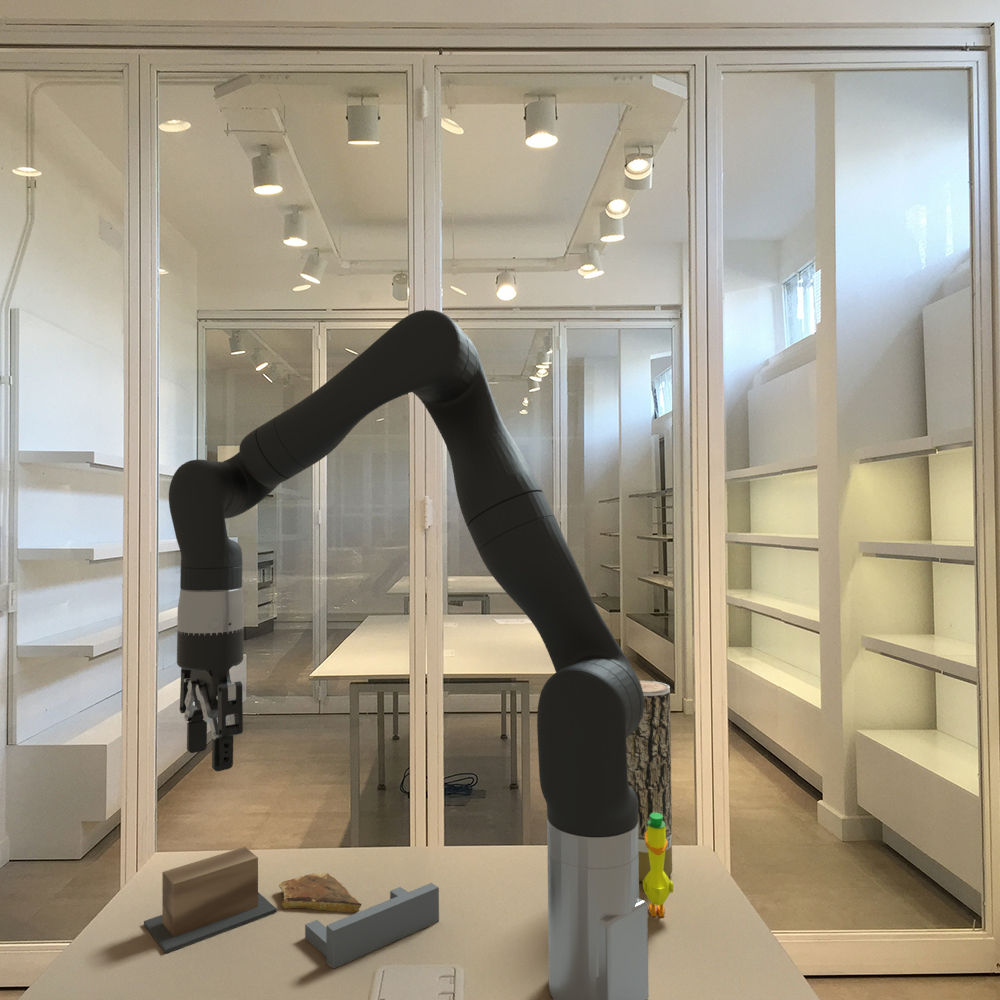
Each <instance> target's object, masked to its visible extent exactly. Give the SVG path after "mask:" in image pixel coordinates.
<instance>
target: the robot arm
mask: <svg viewBox="0 0 1000 1000" xmlns="http://www.w3.org/2000/svg"><path fill="white" fill-rule="evenodd" d="M482 363H483V362H482V360H481V357H480V354H479V353H478V350H477V348H476V346H475V345H474V342H473V341H472V340H471V339H470V337H469V336H468V335H467V334H466V333H465V332H464V330H462V328H461V327H460V326H459V325H458V324H457V323H456V322H455V320H453V319H452V318H451V316H448V315H446V314H445V313H443V312H441V311H437V310H432V309H431V310H430V309H423V310H418V311H415V312H413V313H410V314H409V315H407V316H405V317H403V318H402V319H401V320H399V321H398V322H396V323H395V324H394V325H393V326H392V327H390V328H389V329H388V330H387V331H386V332H385V333H383V334H382V335H381V336H379V338H377V339H376V341H374V342H373V343H372V344H371V345H369V346H368V348H366V349H365V350H364V351H363V352H361V354H359V355H358V356H357V357H356V358H354V359H353V360H352V361H351V362H350V363H348V364H347V365H346V366H345V367H343V368H342V369H341V370H340V371H339V372H337V373H336V374H335V375H334V376H333V377H332V378H330V379H329V380H327V382H325V383H324V384H323V385H321V386H320V387H319V388H317V389H316V390H315V391H313V392H312V393H310V394H309V395H308V396H306V397H305V398H304V399H302V400H300V401H299V402H297V403H296V404H294V405H293V406H291V407H290V408H288V409H286V410H285V411H283V412H281V413H280V414H278V415H276V416H275V417H273V418H271V419H269V420H268V421H266V422H265V423H263V424H261V425H260V426H258V427H256V428H255V429H254V430H252V431H251V432H249V433H248V434H247V435H246V436H244V437H243V439H242V440H241V442H240V443H239V448H238V449H239V450H238V453H236V454H235V455H233V456H231V457H230V458H227V459H225V460H223V461H217V460H210V459H208V460H207V459H193V460H188V461H186V462H184V463H183V464H181V465H180V466H179V467H178V468H177V469H176V470H175V472H174V474H173V476H172V478H171V481H170V485H169V490H168V506H169V507H168V508H169V511H170V516H171V520H172V521H171V522H172V525H173V529H174V530H173V531H174V534H175V537H176V542H177V545H178V548H179V552H180V579H179V581H180V583H179V584H180V586H179V587H180V590H179V597H178V603H177V615H176V616H177V623H176V626H177V629H176V630H177V631H176V632H177V634H176V645H177V646H176V664H177V666H178V667H179V668H180V691H179V695H180V696H179V711H180V713H181V714H184V715H183V716H184V721H185V722H187V723H186V750H187V751H188V752H189V753H190V754H194V753H199V752H204V751H206V749H207V747H208V746H207V743H208V737H207V736H208V724H209V727H210V730H211V731H210V733H211V736H212V739H211V742H212V744H211V751H212V752H211V768H212V770H214V771H215V772H221V771H226V770H227V771H228V770H230V769H231V768H233V765H234V737H235V736H237V735H242V733H243V732H244V731H243V730H244V729H243V728H244V725H243V724H244V723H243V722H244V720H243V719H244V717H243V709H244V707H243V683H242V681H232V680H231V673H230V670H231V668H232V667H235V666H238V665H240V664H241V663H242V662H243V661H244V640H245V639H244V637H245V635H244V633H245V632H244V631H245V630H244V629H245V625H244V624H245V605H244V604H245V603H244V596H243V550H242V547H241V545H240V544H239V543H238V542H237V541H235V540H232V539H230V537H229V536H228V531H227V525H226V524H227V523H226V519H231V518H234V517H237V516H240V515H242V514H244V513H246V512H248V511H249V510H251V509H253V508H254V507H256V505H258V504H259V503H260V502H262V501H263V500H264V499H265V498H267V496H269V495H270V494H271V493H272V492H273V491H274V490H275V489H276V488H277V487H278V486H279V485H280V484H282V483H284V482H286V481H288V480H290V479H291V478H293V477H295V476H296V475H298V474H299V473H301V472H303V471H305V470H306V469H309V468H310V467H311V466H313V465H315V464H317V463H319V461H321V460H323V459H324V458H325V457H326V456H328V455H329V454H330V453H331V452H333V450H335V449H336V448H337V447H338V446H339V445H340V443H342V442H343V440H345V438H346V437H347V436H348V435H349V433H351V431H352V430H353V429H354V428H355V427H356V426H357V425H358V424H359V423H360V422H361V421H362V420H364V419H365V418H366V417H367V416H368V415H369V414H371V413H372V412H374V411H375V410H377V409H378V408H380V407H382V406H383V405H385V404H387V403H389V402H391V401H393V400H396V399H398V398H400V397H403V396H406V395H407V394H411V393H413V394H414V395H415V396H416V397H417V398H418V399H419V400H420V401H421V403H422V404H423V405H424V407H425V408H426V410H427V412H428V413H429V415H430V417H431V418H432V420H433V422H434V424H435V425H436V428H437V429H438V432H439V433H440V436H441V437H442V439H443V442H444V445H445V446H446V449H447V452H448V454H449V459H450V462H451V467H452V472H453V479H454V480H453V481H454V486H455V491H456V496H457V501H458V505H459V508H460V511H461V512H460V513H461V515H462V517H463V520H464V523H465V525H466V527H467V530H468V531H469V534H470V537H471V538H472V541H473V543H474V546H475V547H476V549H477V551H478V553H479V556H480V558H481V560H482V562H483V564H484V566H485V567H486V569H487V570H488V572H489V573H490V574H491V576H492V577H493V578H494V580H495V582H497V584H498V585H499V586H500V587H501V588H502V589H503V590H504V592H505V593H506V594H507V595H508V596H509V597H510V598H511V599H512V600H513V602H514V603H515V604H516V605H517V606H518V607H519V608H520V609H521V611H522V612H523V613H524V614H525V615H526V617H528V619H529V620H530V621H531V622H532V623H531V624H533V626H534V627H535V629H536V631H537V632H538V635H540V638H541V640H542V642H543V644H544V646H545V649H546V651H547V653H548V656H549V657H550V660H551V663H552V665H553V668H554V670H555V673H553V674H552V675H551V676H550V677H549V678H548V679H547V680H546V682H545V683H544V685H543V687H542V689H541V691H540V694H539V699H538V703H537V704H538V705H537V714H536V715H537V716H536V720H537V721H536V723H537V724H536V729H537V730H536V731H537V752H538V754H537V756H538V769H539V770H538V771H539V772H538V773H539V774H538V775H539V785H540V789H541V792H542V793H541V794H542V795H543V798H544V801H545V803H546V816H547V818H546V819H547V822H546V824H547V828H546V829H547V833H546V834H547V927H548V928H547V931H548V933H547V934H548V937H547V938H548V949H547V950H548V990H549V993H550V996H551V997H552V1000H647V999H648V998H649V996H650V995H649V993H650V992H649V985H650V984H649V924H648V923H649V919H648V917H649V915H648V913H649V905H648V903H647V901H645V900H644V899H642V898H640V881H639V855H638V849H639V847H638V799H637V795H636V793H635V791H634V790H633V789H632V788H631V787H630V786H629V785H628V775H627V748H626V738H627V737H628V736H630V735H631V734H632V733H633V732H634V731H635V729H636V728H637V727H638V725H639V723H640V721H641V719H642V716H643V712H644V694H643V690H642V686H641V683H640V681H641V680H640V678H639V677H638V674H637V673H636V672H635V670H634V668H633V666H632V664H631V662H629V660H628V658H627V656H626V655H625V653H624V651H623V650H622V648H621V646H620V645H619V644H618V642H617V640H616V639H615V637H614V635H613V634H612V632H611V631H610V629H609V627H608V626H607V624H606V622H605V621H604V619H603V617H602V615H601V613H600V611H599V610H598V608H597V606H596V604H595V602H594V599H592V596H591V594H590V591H589V589H588V587H587V585H586V582H585V580H584V578H583V576H582V574H581V572H580V569H579V567H578V565H577V563H576V559H574V557H573V554H572V552H571V550H570V547H569V546H568V544H567V542H566V539H565V536H564V534H563V533H562V530H561V528H560V527H561V526H559V523H558V521H557V518H556V516H555V514H554V512H553V510H552V508H551V506H550V504H549V502H548V500H547V497H546V496H545V493H544V491H543V490H542V488H541V486H540V483H539V482H538V480H537V478H536V477H535V474H534V472H533V470H532V468H531V467H530V465H529V463H528V461H527V460H526V457H525V456H524V454H523V453H522V451H521V450H520V448H519V446H518V445H517V443H516V442H515V441H516V440H514V438H513V437H512V435H511V434H510V432H509V430H508V428H507V427H506V425H505V422H504V421H503V418H502V417H501V414H500V412H499V409H498V407H497V404H496V402H495V398H494V396H493V392H492V391H491V388H490V384H489V382H488V379H487V376H486V373H485V369H484V367H483V364H482Z"/></svg>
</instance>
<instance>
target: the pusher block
mask: <svg viewBox="0 0 1000 1000" xmlns="http://www.w3.org/2000/svg"><path fill="white" fill-rule="evenodd" d="M161 879H162V882H161V883H162V891H161V894H162V895H161V896H162V899H161V901H162V902H161V903H162V914H161V915H162V923H163V925H164V926H165V927H166V928H167V930H168V931H169V932H170V933H171V935H172V936H173V937H176V936H179V935H181V934H184V933H187V932H190V931H193V930H195V929H198V928H201V927H204V926H206V925H209V924H212V923H215V922H217V921H220V920H223V919H226V918H228V917H231V916H234V915H237V914H239V913H242V912H245V911H248V910H250V909H253V908H256V907H258V892H259V857H258V856H257V854H254V853H253V852H252V851H251V850H249V848H247V847H246V846H244V847H240V848H236V849H233V850H230V851H227V852H224V853H219V854H216V855H213V856H211V857H210V856H209V857H207V858H203V859H200V860H197V861H194V862H191V863H188V864H184V865H181V866H178V867H174V868H171V869H168V870H164V871H162V878H161Z"/></svg>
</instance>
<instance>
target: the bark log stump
mask: <svg viewBox="0 0 1000 1000" xmlns="http://www.w3.org/2000/svg"><path fill="white" fill-rule="evenodd" d="M639 681H640V683H641V686H642V690H643V694H644V712H643V716H642V719H641V721H640V723H639V725H638V727H637V728H636V729H635V731H634V732H633V733H632V734H631V735H630V736H628V737H627V738H626V748H627V775H628V785H629V786H630V787H631V788H632V789H633V790H634V791H635V793H636V795H637V799H638V847H639V849H638V855H639V883H640V882H641V883H643V880H644V879H645V877H646V876H647V874H648V873H649V871H650V870H651V868H650V861H649V853H648V848H647V847H646V843H645V833H646V831H647V826H648V824H647V822H648V821H649V820H650V814H651V813H655V812H656V813H661V814H662V815H663V820H662V821H664V822H665V827H666V839H667V842H668V844H667V848H666V850H665V860H664V869H663V871H664V872H665V873H666V875H667V876H668V878H669V877H671V875H672V872H673V822H672V821H673V819H672V818H673V817H672V814H673V812H672V810H673V809H672V808H673V807H672V805H673V804H672V802H673V801H672V800H673V799H672V748H671V747H672V746H671V744H672V743H671V742H672V741H671V740H672V739H671V737H672V736H671V729H672V728H671V727H672V726H671V690H670V688H671V687H670V685H669V684H666V683H665V682H659V681H652V680H639Z"/></svg>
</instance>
